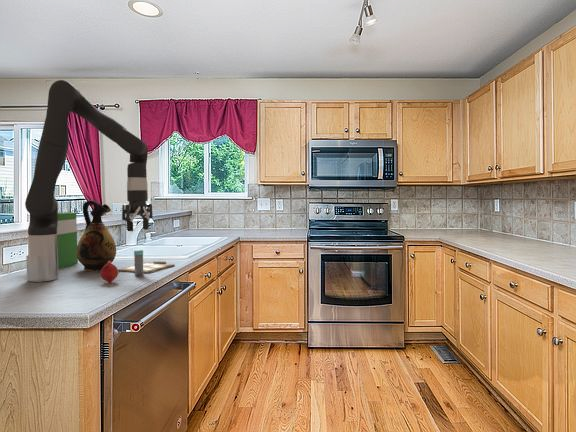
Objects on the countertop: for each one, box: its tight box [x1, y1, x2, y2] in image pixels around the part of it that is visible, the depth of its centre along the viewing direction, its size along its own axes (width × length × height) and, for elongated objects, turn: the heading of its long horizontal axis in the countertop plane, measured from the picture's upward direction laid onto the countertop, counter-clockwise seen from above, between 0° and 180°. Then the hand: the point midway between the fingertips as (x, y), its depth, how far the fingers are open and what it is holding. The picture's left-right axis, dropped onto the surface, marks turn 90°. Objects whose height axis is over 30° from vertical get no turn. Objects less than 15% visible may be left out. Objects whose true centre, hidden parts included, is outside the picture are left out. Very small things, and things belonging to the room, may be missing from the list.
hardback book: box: [57, 212, 79, 270], centre depth 172 cm, size 18×7×24 cm, turn 178°
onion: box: [100, 261, 119, 284], centre depth 140 cm, size 6×6×8 cm
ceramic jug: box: [77, 199, 117, 272], centre depth 165 cm, size 17×15×30 cm
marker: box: [133, 249, 144, 277], centre depth 152 cm, size 3×3×10 cm
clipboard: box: [117, 260, 176, 274], centre depth 167 cm, size 18×15×2 cm
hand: (138, 230), depth 152 cm, fingers open, 8 cm apart
